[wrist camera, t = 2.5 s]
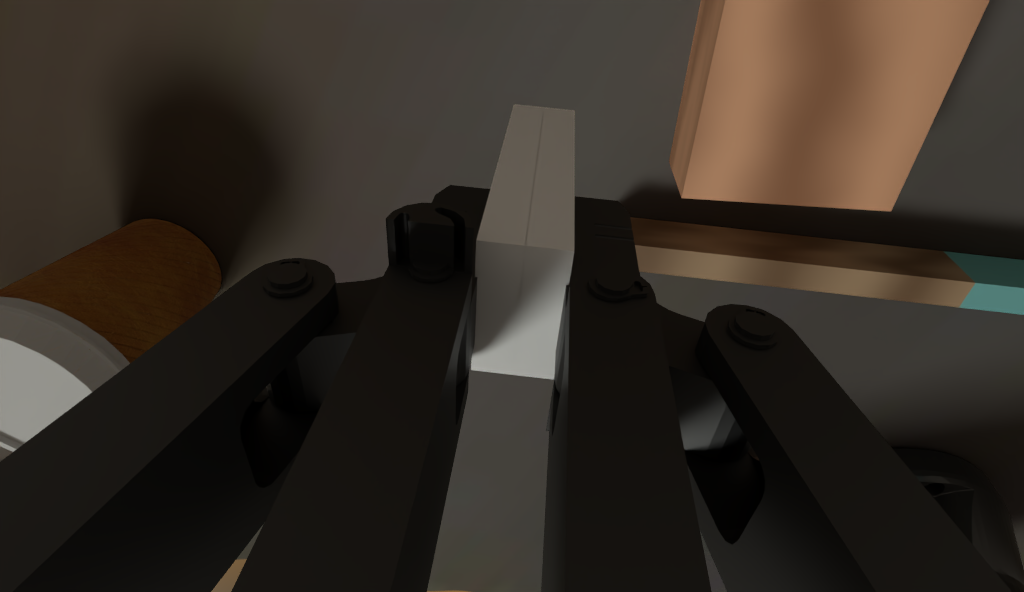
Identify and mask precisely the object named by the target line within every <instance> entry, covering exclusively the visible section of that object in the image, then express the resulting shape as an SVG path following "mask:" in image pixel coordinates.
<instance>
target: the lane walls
mask: <svg viewBox="0 0 1024 592" xmlns="http://www.w3.org/2000/svg"><path fill="white" fill-rule="evenodd" d="M630 218H631V224H632V230H633V236H634V242H635V249H636V255H637V261H638V267H639V271H640V272H649V273H658V274H667V275H676V276H684V277H693V278H702V279H711V280H720V281H729V282H738V283H747V284H756V285H765V286H773V287H782V288H791V289H800V290H809V291H818V292H827V293H836V294H845V295H854V296H862V297H871V298H880V299H889V300H898V301H907V302H916V303H925V304H934V305H943V306H951V307H960V305H961V304H962V302H963V301H964V299H965V298H966V296H967V295H968V293H969V292H970V290H971V289H972V287H973V286H974V284H975V282H974V281H973V280H972V279H971V278H970V277H969V276H968V275H967V274H966V273H965V272H964V271H963V270H962V269H961V268H960V267H959V266H958V265H957V264H956V263H955V262H954V261H953V260H952V259H951V258H950V257H949V256H948V255H947V254H946V253H944V252H943V251H937V250H928V249H919V248H909V247H900V246H891V245H882V244H873V243H864V242H854V241H845V240H836V239H827V238H818V237H809V236H799V235H790V234H781V233H772V232H763V231H754V230H744V229H735V228H726V227H717V226H708V225H699V224H689V223H680V222H671V221H662V220H653V219H644V218H634V217H630Z"/></svg>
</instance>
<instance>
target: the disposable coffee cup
mask: <svg viewBox="0 0 1024 592" xmlns="http://www.w3.org/2000/svg"><path fill="white" fill-rule="evenodd" d="M221 279H222V278H221V270H220V267H219V264H218V262H217V260H216V258H215V256H214V255H213V253H212V252H211V251H210V249H209V248H208V247H207V246H206V245H205V244H204V243H203V242H202V241H201V240H200V239H199V238H198V237H196V236H195V235H194V234H192V233H191V232H190V231H188V230H186V229H184V228H183V227H181V226H178V225H176V224H173V223H171V222H168V221H163V220H159V219H141V220H138V221H134V222H132V223H130V224H128V225H126V226H124V227H122V228H120V229H118V230H117V231H115V232H113V233H111V234H109V235H107V236H105V237H103V238H101V239H99V240H97V241H95V242H93V243H91V244H89V245H87V246H85V247H83V248H81V249H79V250H77V251H75V252H73V253H71V254H69V255H67V256H65V257H63V258H61V259H60V260H58V261H56V262H54V263H52V264H50V265H48V266H46V267H44V268H42V269H40V270H38V271H36V272H34V273H32V274H30V275H28V276H26V277H24V278H23V279H21V280H19V281H17V282H15V283H13V284H11V285H9V286H7V287H5V288H3V289H1V290H0V446H1V447H3V448H5V449H7V450H9V451H12V452H14V451H15V450H16V449H18V448H19V447H20V446H22V445H23V444H24V443H26V442H27V441H28V440H30V439H31V438H32V437H34V436H35V435H36V434H38V433H39V432H40V431H41V430H43V429H44V428H45V427H47V426H48V425H49V424H51V423H52V422H53V421H55V420H56V419H57V418H59V417H60V416H61V415H63V414H64V413H65V412H67V411H68V410H69V409H71V408H72V407H73V406H75V405H76V404H77V403H79V402H80V401H81V400H83V399H84V398H85V397H86V396H88V395H89V394H90V393H92V392H93V391H94V390H96V389H97V388H98V387H100V386H101V385H102V384H104V383H105V382H106V381H108V380H109V379H110V378H112V377H113V376H114V375H116V374H117V373H118V372H120V371H121V370H122V369H124V368H125V367H126V366H128V365H129V364H130V363H131V362H133V361H134V360H135V359H137V358H138V357H139V356H141V355H142V354H143V353H145V352H146V351H147V350H149V349H150V348H151V347H153V346H154V345H155V344H157V343H158V342H159V341H161V340H162V339H163V338H165V337H166V336H167V335H169V334H170V333H171V332H173V331H174V330H175V329H177V328H178V327H179V326H180V325H182V324H183V323H184V322H186V321H187V320H188V319H190V318H191V317H192V316H194V315H195V314H196V313H198V312H199V311H200V310H202V309H203V308H204V307H206V306H207V305H208V304H210V303H211V301H212V300H213V298H214V297H215V295H216V294H217V293H218V291H219V289H220V286H221Z"/></svg>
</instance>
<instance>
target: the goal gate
mask: <svg viewBox="0 0 1024 592" xmlns="http://www.w3.org/2000/svg"><path fill="white" fill-rule="evenodd" d="M943 252H944V253H946V254H947V255H948V256H949V257H950V258H951V259H952V260H953V261H954V262H955V263H956V264H957V265H958V266H959V267H960V268H961V269H962V270H963V271H964V272H965V273H966V274H967V275H968V276H969V277H970V278H971V279H972V280H973V281H974V282H975V284H974V286H973V287H972V289H971V290H970V292H969V293H968V295H967V296H966V298H965V299H964V301H963V302H962V304H961V305H960V308H969V309H978V310H987V311H996V312H1004V313H1013V314H1022V315H1024V260H1019V259H1010V258H1001V257H991V256H982V255H973V254H964V253H955V252H946V251H943Z"/></svg>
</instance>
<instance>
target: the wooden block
mask: <svg viewBox="0 0 1024 592" xmlns="http://www.w3.org/2000/svg"><path fill="white" fill-rule="evenodd" d="M988 3H989V0H701V3H700V8H699V13H698V18H697V23H696V28H695V33H694V38H693V43H692V48H691V53H690V58H689V63H688V68H687V73H686V78H685V83H684V88H683V94H682V99H681V104H680V109H679V114H678V119H677V124H676V129H675V134H674V139H673V144H672V149H671V154H670V159H669V163H670V166H671V169H672V172H673V175H674V178H675V180H676V183H677V186H678V189H679V192H680V195H681V198H687V199H703V200H718V201H734V202H750V203H765V204H781V205H797V206H812V207H828V208H844V209H859V210H875V211H892V208H893V206H894V204H895V202H896V200H897V198H898V196H899V193H900V191H901V189H902V187H903V185H904V183H905V181H906V178H907V176H908V174H909V172H910V170H911V168H912V166H913V163H914V161H915V159H916V157H917V155H918V153H919V151H920V148H921V146H922V144H923V142H924V140H925V138H926V136H927V133H928V131H929V129H930V127H931V125H932V123H933V121H934V118H935V116H936V114H937V112H938V110H939V108H940V105H941V103H942V101H943V99H944V97H945V95H946V93H947V90H948V88H949V86H950V84H951V82H952V80H953V78H954V75H955V73H956V71H957V69H958V67H959V65H960V63H961V60H962V58H963V56H964V54H965V52H966V50H967V48H968V45H969V43H970V41H971V39H972V37H973V35H974V33H975V30H976V28H977V26H978V24H979V22H980V20H981V18H982V15H983V13H984V11H985V9H986V7H987V5H988Z"/></svg>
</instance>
